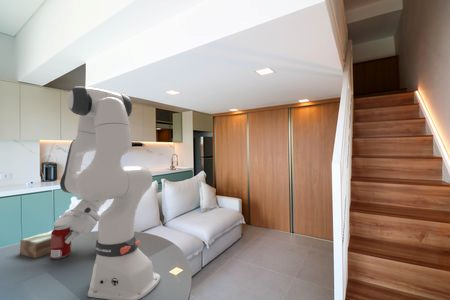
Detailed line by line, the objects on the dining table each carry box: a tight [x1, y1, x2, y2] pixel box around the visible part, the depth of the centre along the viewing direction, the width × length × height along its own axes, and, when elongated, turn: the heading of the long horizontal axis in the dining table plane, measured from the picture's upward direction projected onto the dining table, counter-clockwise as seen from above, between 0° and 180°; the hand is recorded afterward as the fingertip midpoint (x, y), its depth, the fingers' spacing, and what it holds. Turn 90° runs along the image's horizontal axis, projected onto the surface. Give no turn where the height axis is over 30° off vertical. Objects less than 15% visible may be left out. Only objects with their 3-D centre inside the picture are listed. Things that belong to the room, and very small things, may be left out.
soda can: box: [49, 225, 72, 260], centre depth 88 cm, size 7×7×12 cm
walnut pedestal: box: [19, 231, 52, 259], centre depth 92 cm, size 10×10×6 cm
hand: (59, 241), depth 87 cm, fingers closed on soda can, 7 cm apart
